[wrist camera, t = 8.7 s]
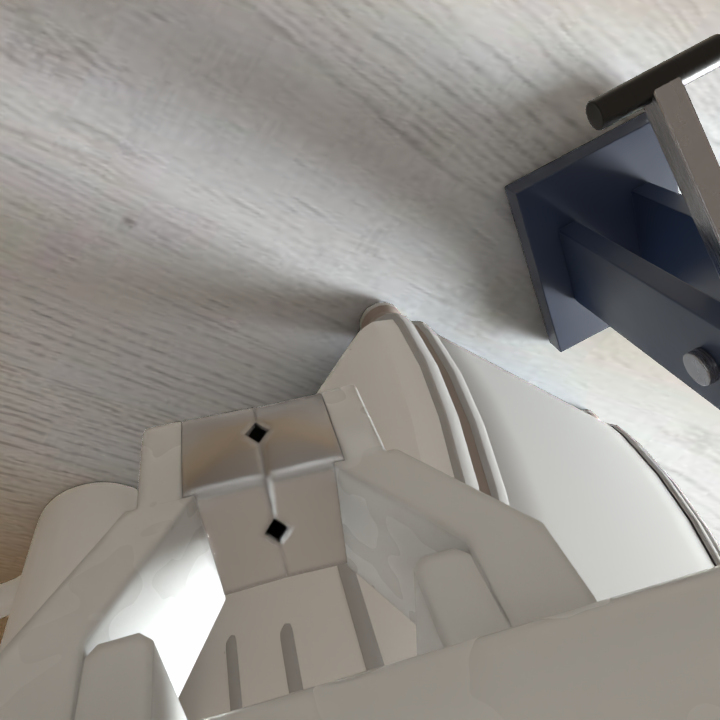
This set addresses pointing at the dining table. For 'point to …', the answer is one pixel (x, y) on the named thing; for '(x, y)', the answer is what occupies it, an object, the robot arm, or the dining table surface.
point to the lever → (675, 130)
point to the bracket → (621, 254)
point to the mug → (61, 546)
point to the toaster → (475, 468)
